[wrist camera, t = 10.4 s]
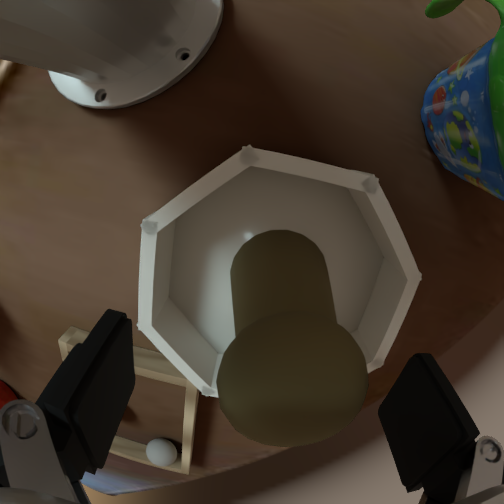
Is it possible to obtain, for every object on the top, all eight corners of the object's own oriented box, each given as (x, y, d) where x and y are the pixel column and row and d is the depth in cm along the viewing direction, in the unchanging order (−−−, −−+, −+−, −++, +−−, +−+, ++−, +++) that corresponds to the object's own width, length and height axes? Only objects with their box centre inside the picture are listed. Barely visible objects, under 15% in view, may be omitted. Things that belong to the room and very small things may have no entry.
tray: (71, 326, 21) (58, 340, 19) (203, 362, 21) (198, 381, 19) (95, 431, 26) (89, 444, 24) (191, 459, 26) (188, 474, 24)
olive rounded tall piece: (345, 255, 18) (429, 375, 7) (298, 331, 19) (322, 475, 9) (255, 212, 17) (247, 309, 7) (214, 297, 19) (173, 440, 8)
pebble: (149, 429, 25) (141, 452, 22) (179, 437, 25) (173, 461, 22) (151, 444, 26) (143, 466, 23) (179, 451, 26) (174, 474, 23)
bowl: (176, 135, 16) (151, 130, 12) (411, 188, 17) (447, 199, 13) (156, 344, 21) (138, 380, 17) (344, 374, 21) (356, 412, 17)
